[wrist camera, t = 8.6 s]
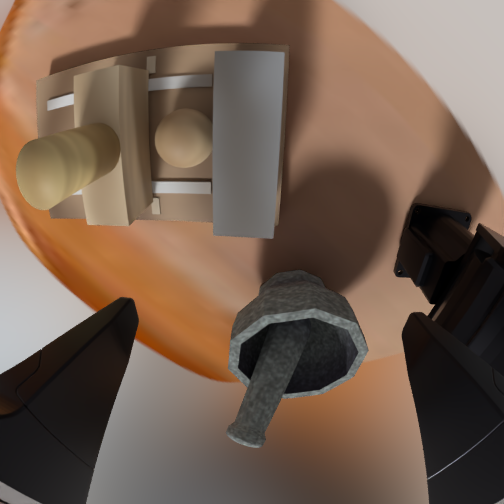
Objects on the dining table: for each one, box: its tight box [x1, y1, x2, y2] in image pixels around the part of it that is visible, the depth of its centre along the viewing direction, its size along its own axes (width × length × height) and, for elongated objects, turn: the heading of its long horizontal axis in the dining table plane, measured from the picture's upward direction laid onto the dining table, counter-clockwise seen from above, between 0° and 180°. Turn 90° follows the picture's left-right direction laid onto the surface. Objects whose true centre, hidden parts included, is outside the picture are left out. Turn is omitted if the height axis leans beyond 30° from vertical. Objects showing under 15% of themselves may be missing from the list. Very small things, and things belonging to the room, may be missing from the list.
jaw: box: [16, 65, 153, 226], centre depth 13 cm, size 3×9×9 cm, turn 178°
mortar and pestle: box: [226, 270, 368, 448], centre depth 19 cm, size 11×9×12 cm
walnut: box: [155, 109, 213, 168], centre depth 15 cm, size 4×4×4 cm
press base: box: [36, 43, 289, 239], centre depth 15 cm, size 19×12×6 cm, turn 88°
